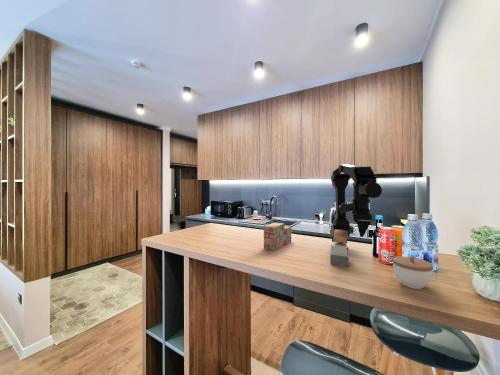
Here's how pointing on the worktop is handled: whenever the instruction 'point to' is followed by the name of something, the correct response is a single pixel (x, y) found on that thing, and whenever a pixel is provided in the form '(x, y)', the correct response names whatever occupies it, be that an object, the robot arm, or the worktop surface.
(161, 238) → the worktop surface
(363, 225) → the robot arm
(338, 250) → the sage top block
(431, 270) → the lidded jar
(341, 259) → the charcoal base block
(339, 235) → the wooden block
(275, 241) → the stack of blocks
